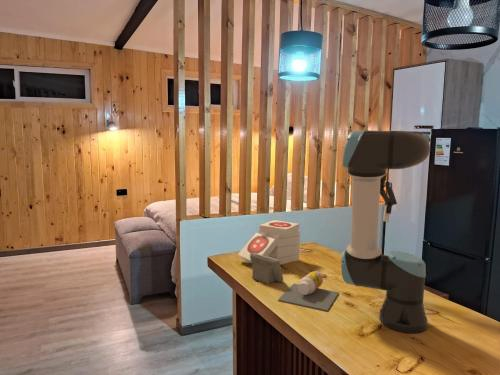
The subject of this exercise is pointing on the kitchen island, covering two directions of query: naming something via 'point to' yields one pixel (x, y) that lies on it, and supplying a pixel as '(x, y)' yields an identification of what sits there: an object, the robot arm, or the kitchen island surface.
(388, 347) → the kitchen island surface
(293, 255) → the pizza boxes
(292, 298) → the mat
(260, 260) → the digital clock
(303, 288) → the supplement bottle
